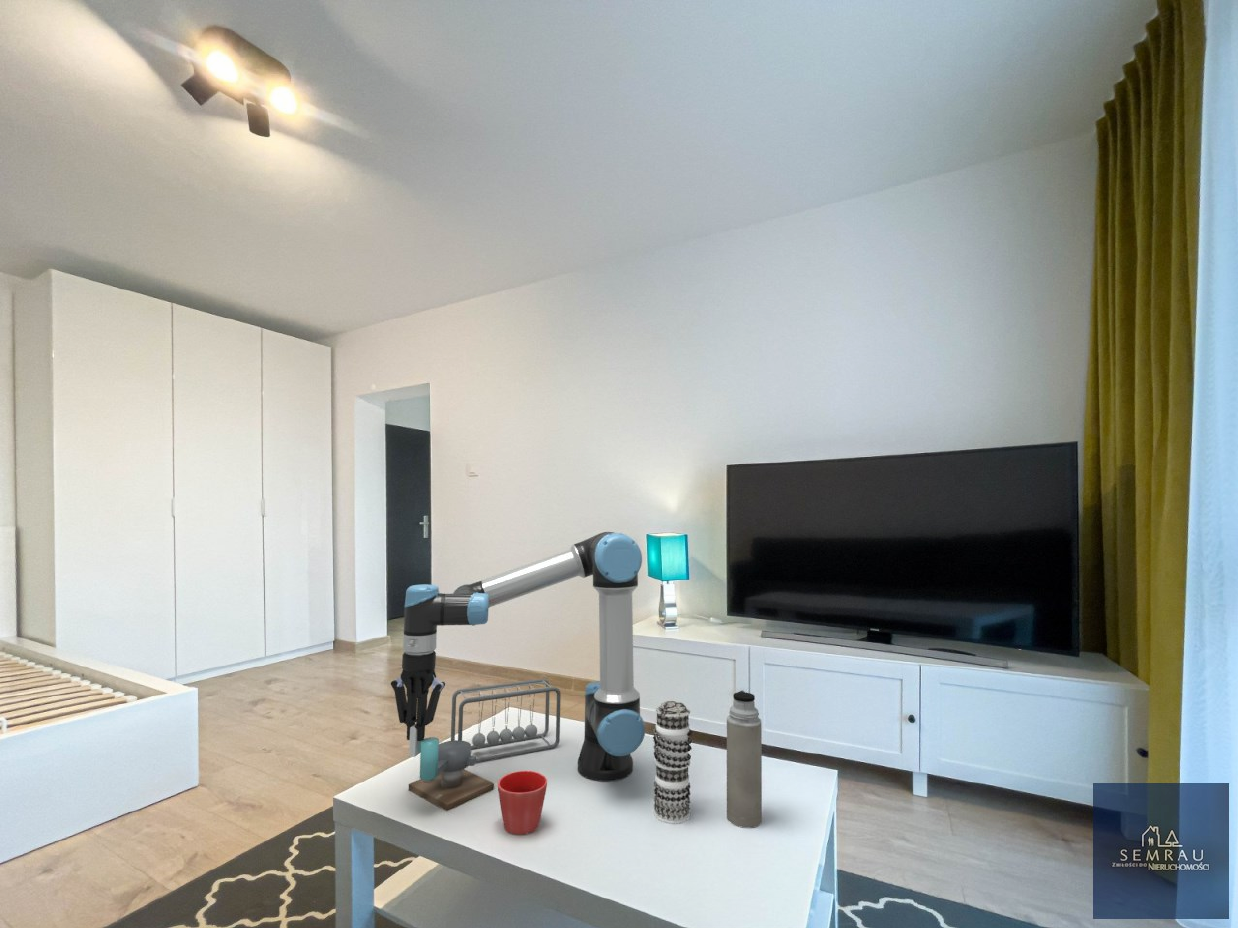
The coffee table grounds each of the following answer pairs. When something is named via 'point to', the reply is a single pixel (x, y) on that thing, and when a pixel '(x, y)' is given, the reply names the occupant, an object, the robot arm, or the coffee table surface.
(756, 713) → the thermos bottle
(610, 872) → the coffee table surface
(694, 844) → the coffee table surface
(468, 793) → the post board
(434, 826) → the coffee table surface
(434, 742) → the crank handle
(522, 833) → the flower pot
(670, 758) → the decorative candle
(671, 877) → the coffee table surface
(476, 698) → the newton's cradle
